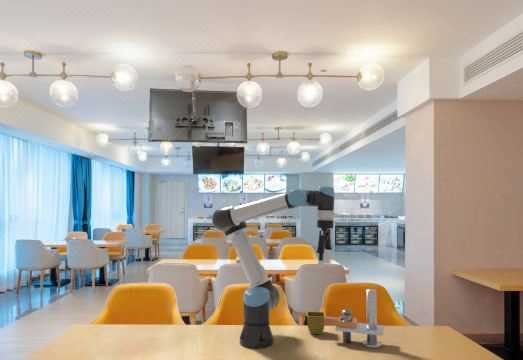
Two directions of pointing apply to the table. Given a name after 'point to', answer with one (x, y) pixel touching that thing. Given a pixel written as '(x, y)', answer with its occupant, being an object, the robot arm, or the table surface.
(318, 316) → the flower pot
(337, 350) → the table surface
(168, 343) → the table surface
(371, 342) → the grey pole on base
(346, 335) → the pin
